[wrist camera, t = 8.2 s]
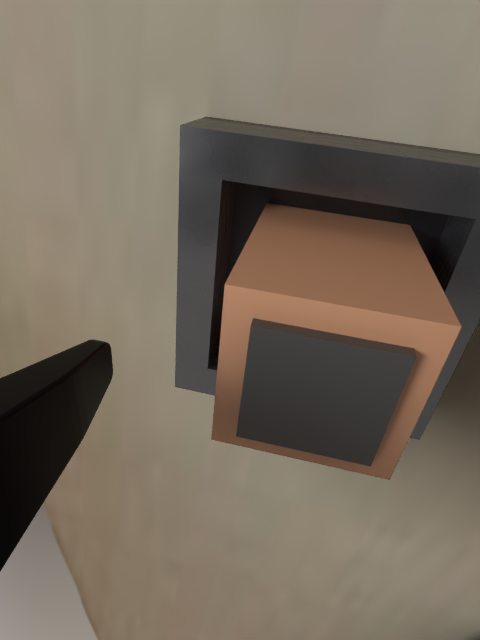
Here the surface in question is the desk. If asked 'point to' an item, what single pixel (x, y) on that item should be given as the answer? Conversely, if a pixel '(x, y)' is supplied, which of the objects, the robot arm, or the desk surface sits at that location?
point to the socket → (321, 195)
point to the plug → (329, 340)
